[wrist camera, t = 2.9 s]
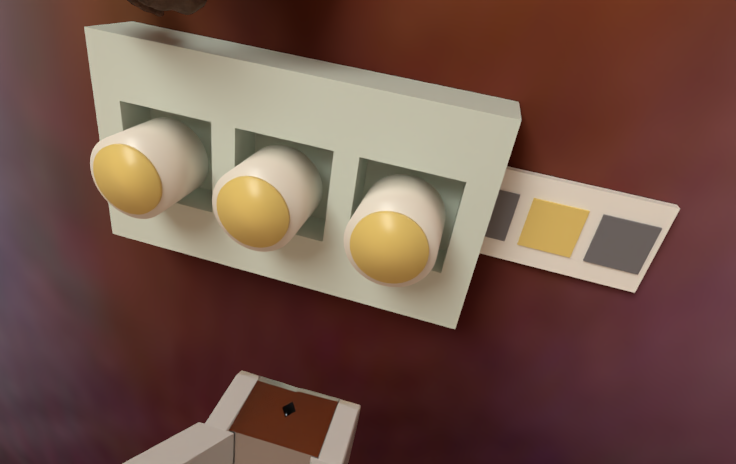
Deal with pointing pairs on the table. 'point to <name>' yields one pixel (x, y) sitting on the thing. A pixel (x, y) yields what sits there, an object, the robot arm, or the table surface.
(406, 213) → the button
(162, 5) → the pottery mug
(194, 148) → the button
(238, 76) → the button board
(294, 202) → the button
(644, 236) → the card
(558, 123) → the table surface
